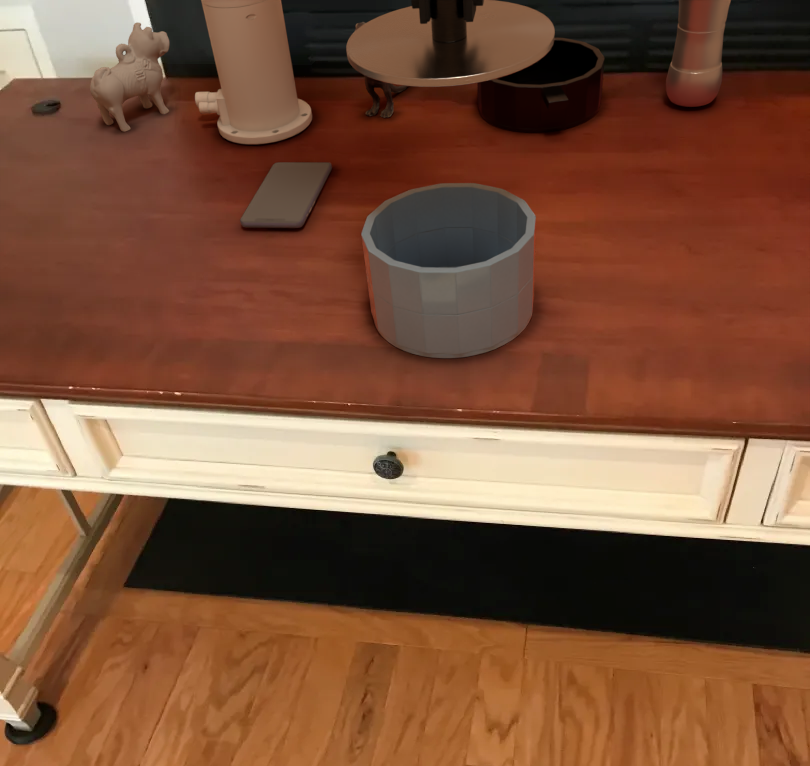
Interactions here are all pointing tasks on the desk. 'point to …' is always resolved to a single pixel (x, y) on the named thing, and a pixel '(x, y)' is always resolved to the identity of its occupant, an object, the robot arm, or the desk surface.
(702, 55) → the plastic bottle
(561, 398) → the desk surface
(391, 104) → the dinosaur model
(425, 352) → the pot
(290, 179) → the smartphone
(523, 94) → the pan
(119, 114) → the dog figurine
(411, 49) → the lid
